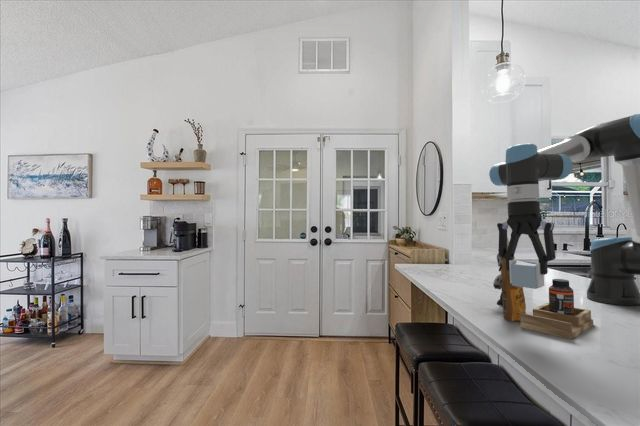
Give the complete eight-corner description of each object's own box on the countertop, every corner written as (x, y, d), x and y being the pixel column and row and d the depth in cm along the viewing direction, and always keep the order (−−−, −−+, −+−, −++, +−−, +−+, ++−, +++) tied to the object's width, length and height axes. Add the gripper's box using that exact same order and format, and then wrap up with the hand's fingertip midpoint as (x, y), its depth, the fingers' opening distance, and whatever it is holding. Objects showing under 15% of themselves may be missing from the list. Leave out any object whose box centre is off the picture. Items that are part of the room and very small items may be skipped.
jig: (545, 315, 103) (545, 302, 103) (593, 324, 93) (592, 310, 93) (520, 327, 92) (520, 313, 92) (571, 339, 82) (571, 323, 82)
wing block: (518, 283, 92) (517, 262, 92) (542, 286, 87) (541, 264, 87) (511, 285, 89) (510, 264, 90) (535, 288, 85) (534, 266, 85)
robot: (506, 310, 108) (504, 251, 109) (490, 308, 112) (488, 250, 112) (519, 299, 123) (517, 247, 123) (504, 297, 126) (503, 246, 127)
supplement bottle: (566, 322, 91) (565, 282, 91) (544, 316, 96) (543, 279, 96) (579, 319, 93) (577, 280, 93) (557, 314, 99) (555, 277, 99)
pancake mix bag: (494, 320, 98) (491, 229, 99) (505, 306, 113) (503, 227, 114) (520, 325, 94) (517, 230, 95) (528, 309, 109) (525, 227, 109)
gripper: (482, 202, 94) (485, 281, 94) (558, 198, 79) (562, 292, 78) (494, 202, 98) (497, 278, 98) (569, 198, 83) (573, 287, 83)
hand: (526, 284), depth 88 cm, fingers closed on wing block, 6 cm apart
